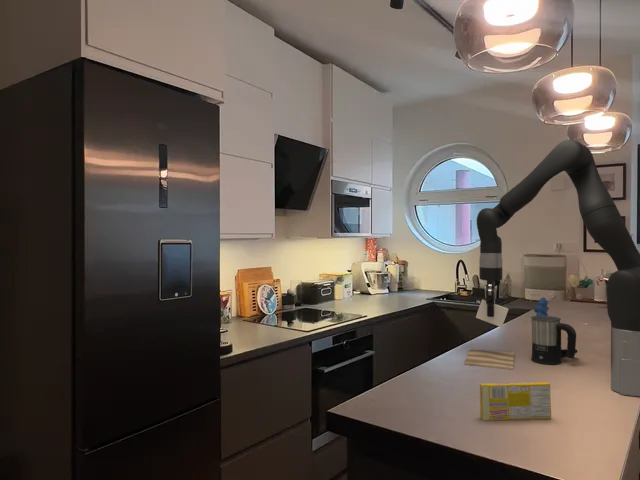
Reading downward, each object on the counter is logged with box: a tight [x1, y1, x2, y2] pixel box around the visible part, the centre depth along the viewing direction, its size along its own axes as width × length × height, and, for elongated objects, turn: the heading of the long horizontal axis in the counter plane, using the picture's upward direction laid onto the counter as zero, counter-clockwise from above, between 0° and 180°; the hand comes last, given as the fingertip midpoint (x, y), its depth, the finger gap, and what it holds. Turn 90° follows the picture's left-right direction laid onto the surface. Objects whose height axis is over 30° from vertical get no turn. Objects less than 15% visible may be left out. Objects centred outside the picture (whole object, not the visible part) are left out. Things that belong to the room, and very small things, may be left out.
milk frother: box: [530, 315, 578, 365], centre depth 160 cm, size 14×16×15 cm
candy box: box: [479, 381, 552, 421], centre depth 109 cm, size 16×2×8 cm, turn 92°
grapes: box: [533, 296, 549, 316], centre depth 228 cm, size 12×7×12 cm, turn 138°
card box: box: [475, 299, 509, 328], centre depth 162 cm, size 3×9×6 cm, turn 67°
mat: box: [464, 348, 515, 370], centre depth 161 cm, size 20×15×1 cm
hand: (490, 315), depth 162 cm, fingers closed on card box, 2 cm apart
